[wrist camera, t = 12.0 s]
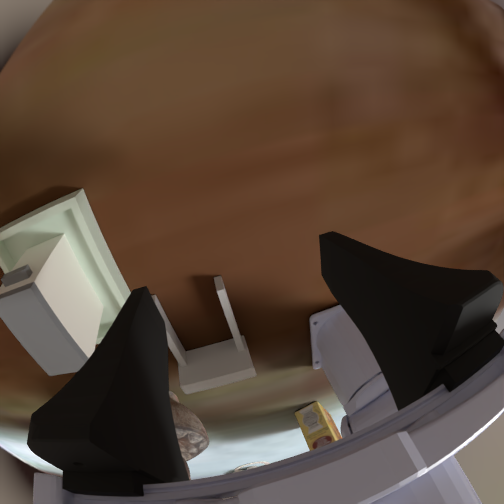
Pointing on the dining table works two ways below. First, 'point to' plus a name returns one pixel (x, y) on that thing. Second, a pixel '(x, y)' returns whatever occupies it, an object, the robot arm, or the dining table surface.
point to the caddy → (51, 307)
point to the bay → (211, 354)
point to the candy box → (317, 426)
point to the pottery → (188, 431)
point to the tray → (81, 241)
